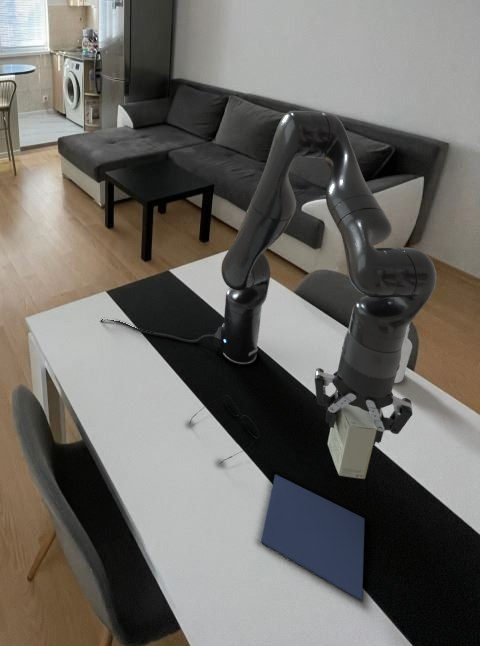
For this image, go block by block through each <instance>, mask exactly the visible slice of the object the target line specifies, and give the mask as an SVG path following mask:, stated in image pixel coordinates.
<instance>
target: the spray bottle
mask: <svg viewBox="0 0 480 646" xmlns="http://www.w3.org/2000/svg"><path fill="white" fill-rule="evenodd" d="M409 333H410V324H409V325H408V326H407V330H406V334H405V338H404V341H403V345H402V349H401V360H400V363H399V364H400V367H399V370H398V371H397V374H396V378H395V381H394V384H398V383H401V382H402V381H403V380H404V377H405V373H406V371H407V368H408V367H407V366H408V363H409V360H410V356H411V353H412V350H413V343H412V342H411V340H410V339H409V338H408V337H409Z"/></svg>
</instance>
